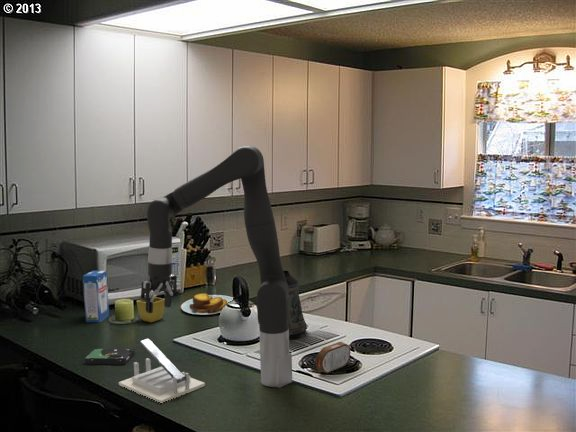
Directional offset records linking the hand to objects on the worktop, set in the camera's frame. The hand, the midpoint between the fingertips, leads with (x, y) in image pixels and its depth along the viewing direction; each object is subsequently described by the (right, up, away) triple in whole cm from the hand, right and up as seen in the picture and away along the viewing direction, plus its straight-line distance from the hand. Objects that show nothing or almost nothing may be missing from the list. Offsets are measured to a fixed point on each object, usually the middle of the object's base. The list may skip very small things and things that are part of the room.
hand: (158, 309), depth 209 cm
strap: (+2, -16, -5) cm, 17 cm away
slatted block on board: (+2, -24, -3) cm, 24 cm away
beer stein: (+41, -16, +43) cm, 62 cm away
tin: (+57, -21, +7) cm, 61 cm away
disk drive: (-22, -21, +22) cm, 37 cm away
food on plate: (+7, -12, +82) cm, 83 cm away
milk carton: (-40, -14, +71) cm, 83 cm away
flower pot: (-16, -14, +66) cm, 70 cm away
